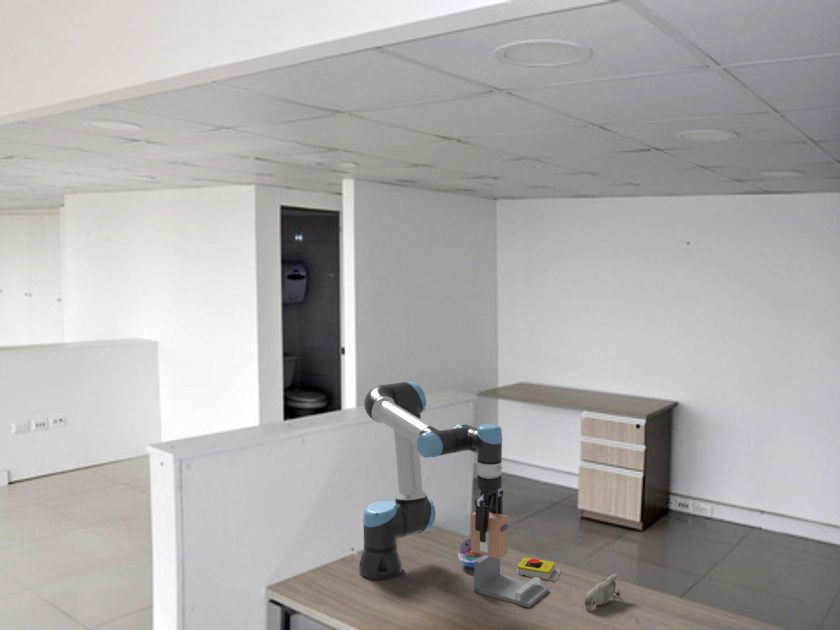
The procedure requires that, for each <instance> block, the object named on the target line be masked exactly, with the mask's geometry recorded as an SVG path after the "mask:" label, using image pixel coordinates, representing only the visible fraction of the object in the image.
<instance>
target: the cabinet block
mask: <svg viewBox="0 0 840 630" xmlns="http://www.w3.org/2000/svg"><path fill="white" fill-rule="evenodd" d="M475 517H476V511H474V512H472V513H471V514H470V521H471V524H470V525H471V526H470V531H471V532H470V538H471V552H475V553H479V554H482V555H486V556H490V557H493V558H497V559H500V560H501V558H503V557H504V556H506V555H508V529H509V525H508V515H506V514H503V515H501V514H496V513H491V512H490V513H489V518H488V528H487V531H489V552H488V553H486V552H482V551H480V531H476V530H475Z"/></svg>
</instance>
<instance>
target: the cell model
mask: <svg viewBox="0 0 840 630" xmlns="http://www.w3.org/2000/svg"><path fill="white" fill-rule="evenodd" d="M458 549H459V551H458V552H459V553H458V554H457V557H458V560H459V562H460V563H461V564H462V566H465V567H466V568H470V569H471V568H472V569H474V561H476V560H477V559H479V558H480V557H482V556H483V555H482V554H479V553H475V552H471V537H468V538H466V539H464V540H462V541H461V543H460V545H459V548H458Z"/></svg>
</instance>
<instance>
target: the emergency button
mask: <svg viewBox="0 0 840 630" xmlns="http://www.w3.org/2000/svg"><path fill="white" fill-rule="evenodd" d="M517 567H518V569H517V573H518V574H521V575H520V576H523V575H525V577H529V576H531V577H530V578H534V577H537V578H542V579H541V580H546V579H547V581H553V582H554V581H556V580H557V579H558V578H559V576H560V574H561V572H562V571H558V570H559V569H556V566H555V562H554V561H549V560H543V559H542V560H541V559H538V558H531V557H523V558H522V560H521V561H520V562H519V563H518V565H517ZM518 574H517V575H518ZM558 575H559V576H558Z"/></svg>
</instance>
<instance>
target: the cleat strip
mask: <svg viewBox="0 0 840 630" xmlns="http://www.w3.org/2000/svg"><path fill="white" fill-rule="evenodd" d="M526 582H527V583H526V584H525V585H524V586H522V587H521V588H520V589H518V590H517V591H516V592H515V600H517V601H522V600H523V599H524V598H525V597H526V596H528V595H529V594H530V593H531V592H533V591H534V590H535V589H536V588H538V587H539V586H541V579H540V578H537V577H532V579H531V578H530V580H528V581H526Z"/></svg>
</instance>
